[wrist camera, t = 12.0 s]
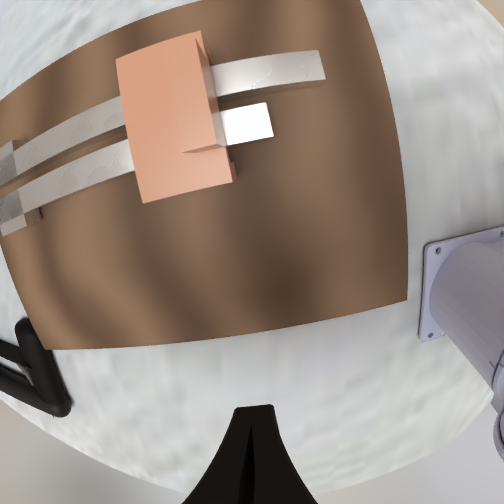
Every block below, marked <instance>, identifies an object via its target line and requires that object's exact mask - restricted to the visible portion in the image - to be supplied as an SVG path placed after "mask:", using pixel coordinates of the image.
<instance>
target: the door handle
mask: <svg viewBox="0 0 504 504" xmlns="http://www.w3.org/2000/svg"><path fill="white" fill-rule="evenodd" d="M15 334H16V337H17V340H18V344H19V347H18V346H15V345H13V344H10V343H8V342H5V341H3V340H1V339H0V356H1V357H3V358H5V359H7V360H10V361H12V362H14V363H17V365H18V366H19V368H20V369H21V370H22V372H23V373H24V374H25V376H26V377H27V378H25V377H23V376H21V375H19V374H16V373H14V372H12V371H10V370H8V369H6V368H4V367H2V366H0V390H1V391H3V392H5V393H6V394H8V395H10V396H12V397H14V398H16V399H18V400H20V401H22V402H24V403H26V404H28V405H31V406H33V407H35V408H37V409H39V410H42V411H44V412H46V413H49V414H51V415H52V416H53V417H54V416H56V417H65V416H67V415H68V414H69V413H70V411H71V402H70V399H69V398H68V396H67V395H66V394H65V393H64V390H63V388H62V385H61V382H60V380H59V377H58V374H57V371H56V368H55V365H54V362H53V359H52V356H51V353H50V350H45V349H44V347H43V345H42V343H41V341H40V339H39V337H38V336H37V334H36V332H35V330H34V328H33V326H32V324H31V322H30V319H23V320H20V321H18V322H17V324H16V325H15ZM27 369H28V370H27Z"/></svg>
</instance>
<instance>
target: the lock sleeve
mask: <svg viewBox="0 0 504 504" xmlns="http://www.w3.org/2000/svg"><path fill="white" fill-rule="evenodd" d="M115 60H116V68H117V75H118V83H119V90H120V96H121V102H122V108H123V114H124V120H125V125H126V131H127V136H128V141H129V146H130V151H131V155H132V160H133V165H134V169H135V173H136V178H137V182H138V186H139V190H140V194H141V198H142V202H143V204H144V203H147V202H151V201H155V200H159V199H163V198H166V197H170V196H174V195H178V194H182V193H186V192H191V191H195V190H199V189H203V188H208V187H212V186H217V185H221V184H226V183H230V182H233V181H234V180H235V179H236V178H237V174H236V170H235V165H234V162H231V163H230V159H229V154H228V150H227V145H226V140H225V136H224V131H223V126H222V121H221V117H220V112H219V107H218V103H217V98H216V93H215V89H214V84H213V79H212V74H211V70H210V65H209V64H213V62H212V58H211V53H210V50H209V48H208V45H207V43H206V41H205V39H204V37H203V35H202V33H201V30H200V31H196V32H192V33H189V34H185V35H182V36H178V37H175V38H172V39H169V40H165V41H162V42H159V43H156V44H154V45H151V46H148V47H145V48H142V49H140V50H137V51H135V52H132V53H130V54H127V55H125V56H122V57H120V58H118V59H115Z"/></svg>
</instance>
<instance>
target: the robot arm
mask: <svg viewBox="0 0 504 504" xmlns="http://www.w3.org/2000/svg"><path fill="white" fill-rule="evenodd" d="M437 248H438V251H437V252H436V253H435V251H436V249H437ZM429 334H430V335H429ZM445 334H446V335H447V336H448V337H449V338H450V339H451V340H452V341H453V343H454V344H455V345H456V346H457V347H458V348H459V349H460V351H461V352H462V353H463V354H464V355H465V357H466V358H467V359H468V360H469V361H470V363H471V364H472V365H473V366H474V367H475V369H476V370H477V371H478V372H479V374H480V375H481V376H482V377H483V379H484V380H485V381H486V382H487V384H488V385H489V386H490V388H491V389H492V390H493V392H494V396H493V399H492V401H491V404H492V406H493V407H494V409H495V410H496V411H497V413H498V415H497V418H496V420H495V424H494V430H493V436H494V443H495V446H496V449H497V451H498V453H499V455H500V457H501V458H502V460H503V461H504V226H501V227H497V228H493V229H489V230H485V231H481V232H477V233H473V234H469V235H465V236H460V237H456V238H452V239H448V240H443V241H439V242H435V243H430V244H428V245H427V246H426V248H425V251H424V280H423V297H422V309H421V319H420V328H419V339H420V341H421V342H425V341H428V340H431V339H434V338H437V337H439V336H442V335H445ZM182 504H318V503H317V502H316V501H315V499H314V498H313V496H312V495H311V493H310V492H309V491H308V489H307V487H306V486H305V484H304V483H303V481H302V480H301V478H300V476H299V474H298V473H297V471H296V469H295V467H294V465H293V463H292V462H291V460H290V457H289V455H288V453H287V451H286V449H285V446H284V444H283V442H282V439H281V437H280V434H279V429H278V424H277V420H276V415H275V410H274V406H273V405H271V404H267V405H259V406H249V407H237V408H236V409H235V410H234V413H233V416H232V419H231V422H230V425H229V427H228V430H227V432H226V434H225V436H224V439H223V441H222V443H221V445H220V447H219V449H218V451H217V453H216V455H215V457H214V459H213V460H212V462H211V464H210V465H209V467H208V469H207V470H206V472H205V474H204V475H203V477H202V478H201V480H200V481H199V483H198V484H197V485H196V487H195V488H194V490H193V491H192V492H191V493H190V495H189V496H188V497H187V498H186V500H185V501H184V502H183V503H182Z"/></svg>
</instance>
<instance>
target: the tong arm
mask: <svg viewBox="0 0 504 504" xmlns="http://www.w3.org/2000/svg"><path fill="white" fill-rule="evenodd" d="M220 117H221V121H222V126H223V131H224V136H225V140H226V145H227V147H231V146H235V145H240V144H245V143H250V142H255V141H260V140H265V139H271V138H272V137H273V133H272V128H271V123H270V119H269V114H268V110H267V105H266V103H261V104H255V105H250V106H245V107H240V108H235V109H230V110H226V111H221V112H220ZM133 172H135V169H134V165H133V160H132V155H131V151H130V146H129V141H128V139H126V140H123V141H121V142H118V143H115V144H113V145H110V146H108V147H105V148H102V149H100V150H97V151H95V152H93V153H90V154H88V155H85V156H83V157H81V158H79V159H76V160H74V161H72V162H70V163H67V164H65V165H63V166H61V167H59V168H57V169H55V170H53V171H51V172H49V173H47V174H45V175H43V176H41V177H39V178H37V179H35V180H33V181H31V182H29V183H27V184H25V185H24V186H22V187H20V188H18V189H16V190H15V191H13V192H11V193H9V194H8V195H6V196H4V197H3V198H1V199H0V229H1V233H2V236H5V235H7V234H10V233H12V232H14V231H16V230H19V229H21V228H23V227H26V226H28V225H30V224H33V223H35V222H38V221H40V220H42V218H41V215H40V211H39V208H40V207H43V206H45V205H47V204H50V203H52V202H54V201H57V200H59V199H62V198H64V197H67V196H69V195H72V194H74V193H77V192H79V191H82V190H85V189H87V188H90V187H93V186H95V185H98V184H101V183H104V182H107V181H109V180H112V179H115V178H118V177H121V176H124V175H127V174H130V173H133Z"/></svg>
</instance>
